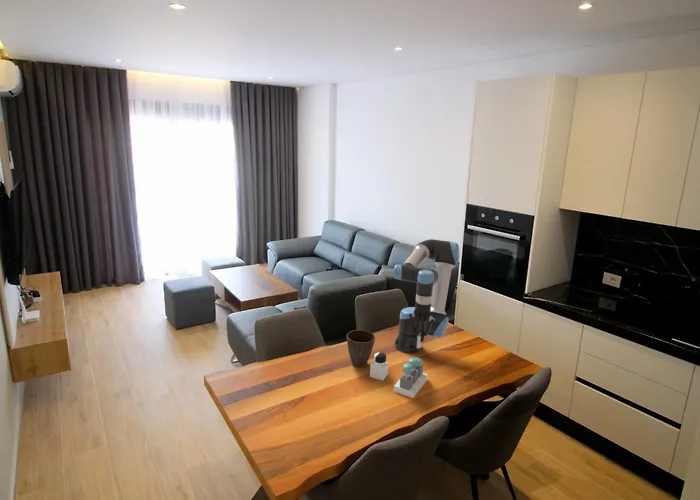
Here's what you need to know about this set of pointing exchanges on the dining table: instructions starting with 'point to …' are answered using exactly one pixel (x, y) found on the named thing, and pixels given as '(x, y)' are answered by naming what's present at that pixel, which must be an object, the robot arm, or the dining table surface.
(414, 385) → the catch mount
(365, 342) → the plant pot
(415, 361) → the knob
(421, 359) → the knob
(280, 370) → the dining table surface
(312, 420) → the dining table surface
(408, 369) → the knob
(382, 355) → the medicine bottle
